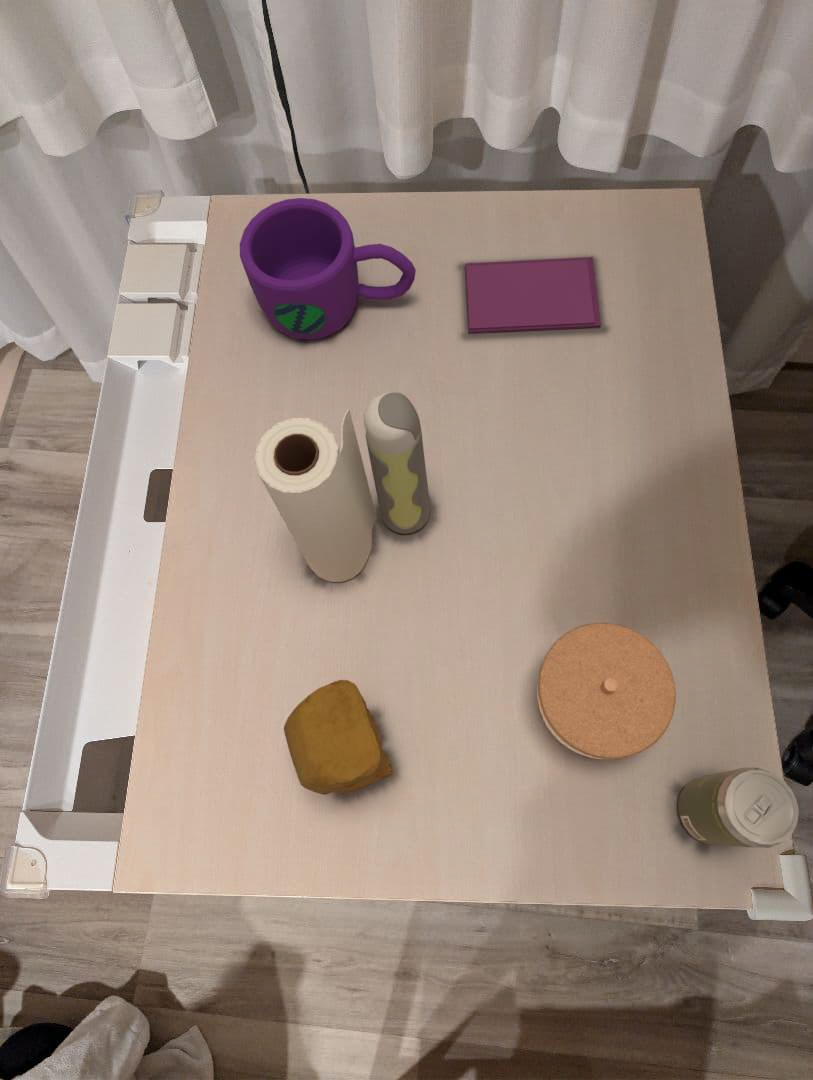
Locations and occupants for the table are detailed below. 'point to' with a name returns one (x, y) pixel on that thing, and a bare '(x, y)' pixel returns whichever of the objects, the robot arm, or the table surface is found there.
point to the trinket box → (606, 691)
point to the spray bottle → (397, 461)
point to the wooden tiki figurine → (335, 741)
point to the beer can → (739, 809)
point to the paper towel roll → (320, 493)
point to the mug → (311, 267)
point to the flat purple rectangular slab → (531, 295)
